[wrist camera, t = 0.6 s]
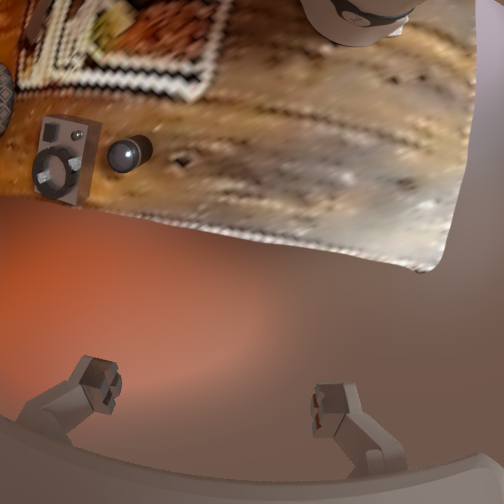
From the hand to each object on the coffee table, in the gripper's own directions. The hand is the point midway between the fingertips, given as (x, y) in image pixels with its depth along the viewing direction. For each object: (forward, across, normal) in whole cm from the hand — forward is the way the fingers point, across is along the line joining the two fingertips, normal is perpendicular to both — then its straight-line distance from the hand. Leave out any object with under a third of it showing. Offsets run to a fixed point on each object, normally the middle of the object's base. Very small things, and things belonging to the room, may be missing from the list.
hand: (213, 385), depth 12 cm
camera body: (+42, +33, -2) cm, 53 cm away
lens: (+42, +19, -2) cm, 46 cm away
